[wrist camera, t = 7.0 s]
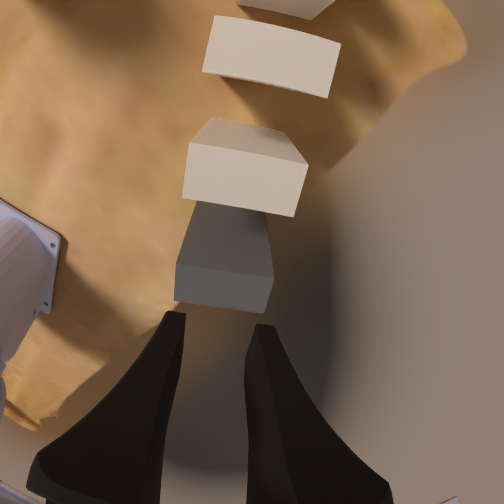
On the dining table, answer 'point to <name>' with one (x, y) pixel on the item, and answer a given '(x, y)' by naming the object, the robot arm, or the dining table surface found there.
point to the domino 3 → (244, 167)
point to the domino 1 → (290, 6)
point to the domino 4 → (225, 259)
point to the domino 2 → (271, 55)
